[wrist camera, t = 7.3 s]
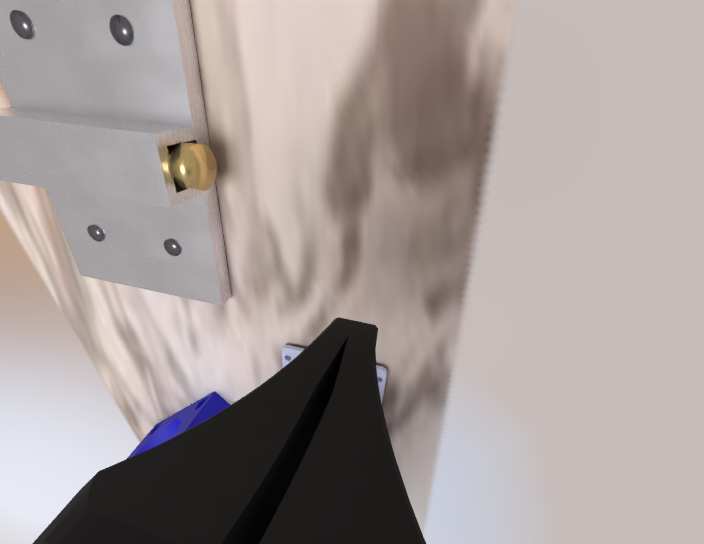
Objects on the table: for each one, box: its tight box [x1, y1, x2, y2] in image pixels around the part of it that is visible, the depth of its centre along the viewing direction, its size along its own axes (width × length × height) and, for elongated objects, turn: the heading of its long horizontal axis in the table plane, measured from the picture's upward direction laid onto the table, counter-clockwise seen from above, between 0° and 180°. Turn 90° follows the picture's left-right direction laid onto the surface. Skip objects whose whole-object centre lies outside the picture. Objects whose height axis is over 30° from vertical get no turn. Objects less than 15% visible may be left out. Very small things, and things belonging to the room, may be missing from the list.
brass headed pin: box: [167, 142, 217, 191], centre depth 18 cm, size 13×2×2 cm, turn 86°
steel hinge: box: [0, 0, 232, 306], centre depth 18 cm, size 12×20×4 cm, turn 176°
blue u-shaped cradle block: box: [127, 391, 230, 459], centre depth 31 cm, size 12×4×6 cm, turn 131°
